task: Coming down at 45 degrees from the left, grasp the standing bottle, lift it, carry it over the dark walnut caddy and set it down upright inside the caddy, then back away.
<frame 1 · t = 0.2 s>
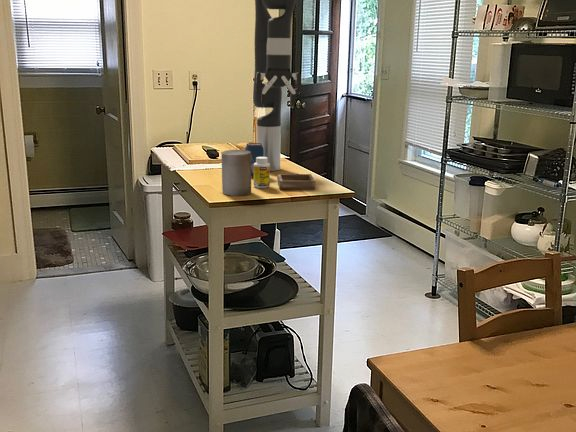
hand: (278, 106, 200), 29 cm above the table, tool pointing down, fingers open, 8 cm apart
caddy: (295, 186, 220), on the table
soda can: (254, 176, 236), on the table
pillar candle: (236, 193, 209), on the table
supplement bottle: (261, 187, 218), on the table
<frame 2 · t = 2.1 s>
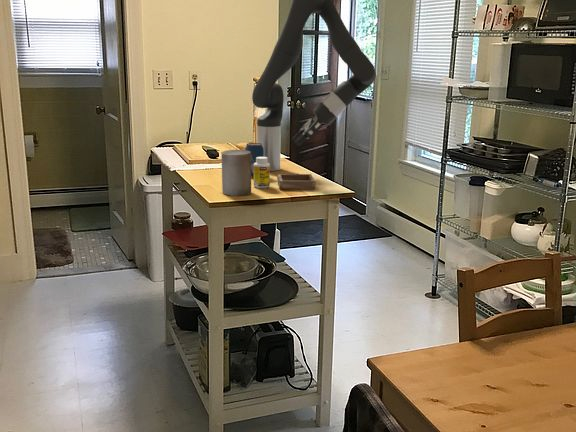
hand: (295, 142, 215), 15 cm above the table, tool tilted 45°, fingers open, 8 cm apart
nothing on the table moved.
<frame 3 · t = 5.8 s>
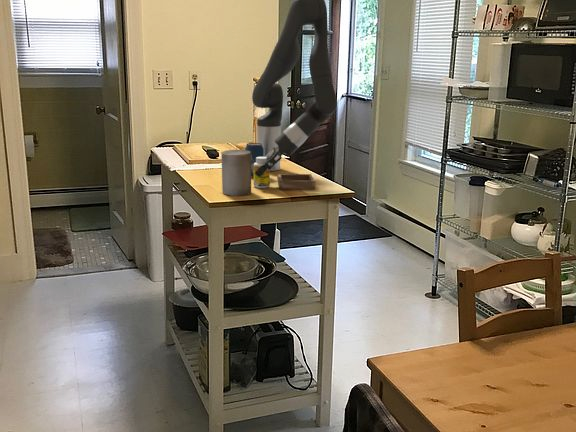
hand: (256, 173, 217), 5 cm above the table, tool tilted 45°, fingers closed on supplement bottle, 5 cm apart
supplement bottle: (261, 187, 218), on the table, touching gripper
everything else where it was.
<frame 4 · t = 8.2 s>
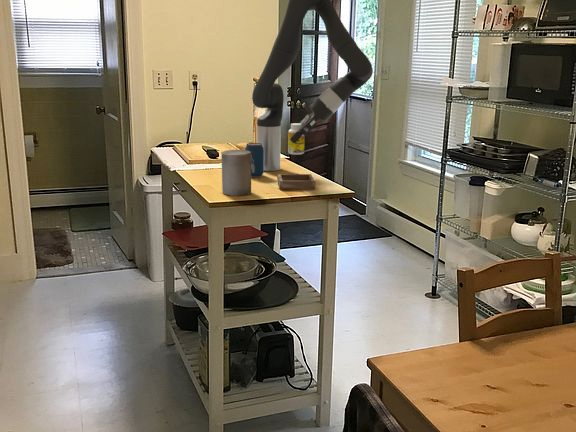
hand: (291, 139, 216), 16 cm above the table, tool tilted 45°, fingers closed on supplement bottle, 5 cm apart
supplement bottle: (296, 154, 217), point 11 cm above the table, touching gripper
everything else where it was.
when the fingers open (7 cm above the table, at t = 10.5 s): supplement bottle stays where it is, resting on caddy.
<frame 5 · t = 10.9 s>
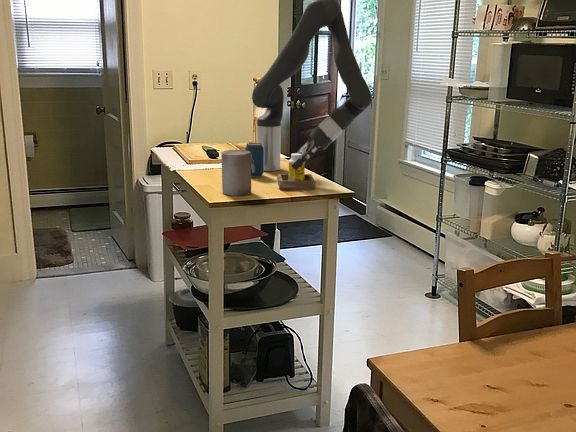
hand: (292, 165, 218), 7 cm above the table, tool tilted 45°, fingers open, 8 cm apart
supplement bottle: (296, 183, 220), point 1 cm above the table, touching caddy
everything else where it was.
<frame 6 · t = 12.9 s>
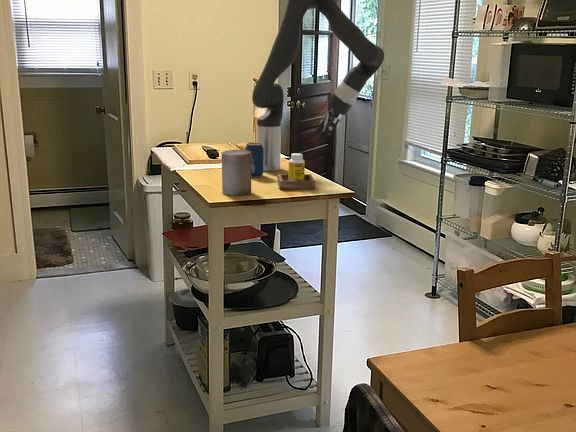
hand: (318, 137, 218), 17 cm above the table, tool tilted 30°, fingers open, 8 cm apart
nothing on the table moved.
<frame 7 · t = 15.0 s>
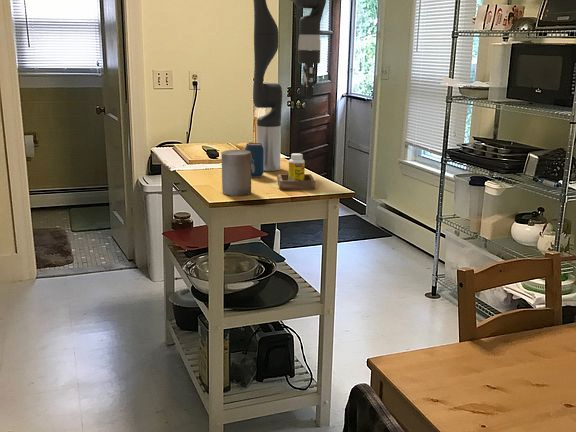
hand: (308, 97, 216), 30 cm above the table, tool pointing down, fingers open, 8 cm apart
nothing on the table moved.
at the end: supplement bottle inside the target area on the caddy (0.2 cm from its centre), point 0.8 cm above the caddy's base; supplement bottle tilted 0°; the gripper is holding nothing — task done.
